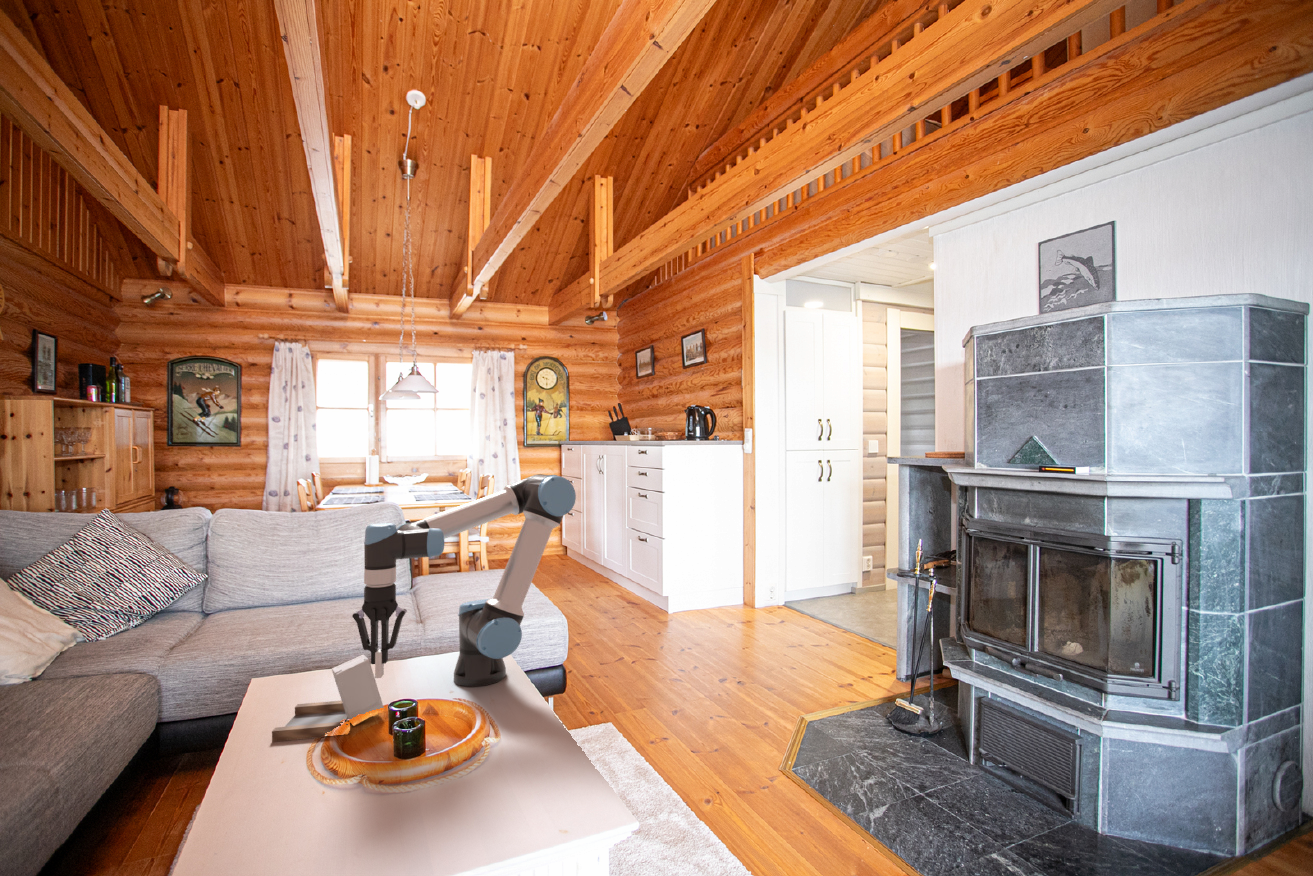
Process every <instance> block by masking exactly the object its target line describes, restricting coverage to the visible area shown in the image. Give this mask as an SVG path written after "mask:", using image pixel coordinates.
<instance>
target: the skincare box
mask: <svg viewBox="0 0 1313 876" xmlns="http://www.w3.org/2000/svg"><path fill="white" fill-rule="evenodd" d="M331 672H332V674H333V678H334V682H335V683H336V687H337V690H338V693H339V696H340V701H342V703H343V706H344V709H345V712H346V716H347V720H348V719H352V718H353V717H356V716H357V715H358V714H365V713H366V712H369V711H372V710H376V709H380V708H384V707H385V706H384V704H383V700H382V697H381V694H380V690H379V687H378V685H377V681H376V678H375V673H374V672H373V668H372V664H371V659H369V658H368V657H367V656H366V655H365V654H361V655H359V656H357V657H355V658H352V659H350V660H348V661H345V662H343V663H341V664H339V665H337V666H333V667H332V668H331ZM384 709H385V708H384Z"/></svg>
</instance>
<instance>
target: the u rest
mask: <svg viewBox="0 0 1313 876" xmlns="http://www.w3.org/2000/svg"><path fill="white" fill-rule="evenodd" d="M343 719H347V716H346V712H345V709H344V706H343V703H342V700H334V701H333V700H332V701H321V702H319V701H318V702H311V703H310V702H308V703H298V704H296V705H295V707H294V716H293V717H292V718H291V719H290V720H289V721H288V722H287V723H286V724H285V726H279V727H274V729H272V730H271V742H272V743H274V742H283V741H285V742H286V741H287V742H288V741H294V740H296V741H297V740H305V739H307V740H308V739H316V738H317V739H319V738H324V737H323V736H324V735H325V733H327V732H330V731H332V730H333V729H334V728H336V727H338V726H341V724H340V723H343V722H340V721H341V720H343ZM347 720H348V719H347ZM346 725H348V724H346Z"/></svg>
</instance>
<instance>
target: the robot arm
mask: <svg viewBox="0 0 1313 876" xmlns="http://www.w3.org/2000/svg"><path fill="white" fill-rule="evenodd" d="M576 494H577V493H576V490H575V487H574V485H573V484H572V482H571V481H570V480H569V479H567V478H565V477H563V476H561V475H557V474H541V473H540V474H533V475H531V476H528V477H526V478H523V479H520V480H519V481H516V482H514V483H511V484H508V485H506V486H504V488H503V490H501V491H499V492H496V493H492V494H490V495H487V496H484V497H482V498H479V499H476V500H473V501H470V502H467V503H465V504H462V505H459V506H456V507H453V508H450V509H448V510H445V511H443V512H442V511H441V512H439V513H437V514H436V513H435V514H434V515H431V516H428V517H425V518H424V519H421V520H417V521H414V522H412V523H411V522H405V523H402V524H400V525H399V526H397V525H396V523H390V522H389V523H373V524H372V523H371V524H369V525H367V527H366V528H365V530H364V531H365V532H364V542H363V544H364V550H363V551H364V559H363V560H364V573H363V574H364V575H363V577H364V578H363V583H364V587H363V604H362V606H361V609H359V610H357V611H355V612H354V613H353V614H352V617H351V618H353V620H354V621H355V622H356V626H357V629H358V634H359V637H360V638H359V639H360V641H361V645H362V649H363V651H369V652H370V664H371V665H374V677H375V679H381V678H382V677H383V676H384V675H385V674H384V673H385V670H384V669H385V668H384V666H385V664H386V663H387V662H388V660H389V651H390V650H391V649H393V648H394V647H395V646H396V645H397V640H398V637H399V632H400V628H401V625H402V622H403V618H404V617H405V615H406V613H407V612H408V611H407V609H406V608H401V607H399V604H398V602H397V599H396V598H397V592H396V591H397V585H396V584H395V583H396V582H397V560H406V559H407V560H408V559H419V558H432V557H438V556H441V555H442V554H443V552H444V549H445V539H447V538H450V537H453V536H455V535H458V534H460V533H461V534H462V533H464V532H466V531H468V530H471V529H474V528H476V527H479V526H481V525H484V524H487V523H489V522H493V521H495V520H498V519H500V518H503V517H505V516H508V515H511V514H513V515H514V516H517V515H520V514H523V515H524V518H525V519H524V521H523V524H522V527H521V529H520V531H519V534H518V536H517V538H516V541H515V543H514V546H513V549H512V551H511V553H510V556H509V558H508V561H507V563H506V565H505V568H504V571H503V573H502V575H501V578H500V580H499V582H498V585H497V587H496V590H495V593H494V595H493V597H491V598H490V599H489V598H485V599H484V598H483V599H478V600H477V599H476V600H470V601H467V602H463V603H461V604H460V605H459V608H458V613H457V615H458V630H459V631H458V637H459V638H458V640H459V642H458V643H459V644H458V645H459V647H458V648H459V655H458V657H457V661H456V664H455V668H454V671H453V683H455V684H456V685H459V686H461V687H483V686H487V685H493V684H495V683H498V682H499V681H501V680H503V679H504V678H505V677H506V674H507V671H506V670H507V669H506V668H507V667H506V664H505V662H504V659H503V658H507V657H508V656H511V654H512V655H513V653H514V652H515V651H516V650H517V649H518V648H519V645H520V644H521V641H522V637H523V632H522V628H521V625H522V621H523V618H524V616H525V612H524V610H523V604H524V602H525V600H526V596H527V594H528V593H529V589H530V587H531V585H532V582H533V579H534V577H535V574H536V571H537V569H538V566H539V564H540V563H541V559H542V557H543V554H544V552H545V549H546V547H547V544H548V541H549V539H550V538H551V537H550V536H551V535H552V532H553V530H554V529H555V528H557V527H559V526H561V523H562V520H563V518H564V516H565V515H567V514H569V513H570V512H571V511H572V510H573V508H574V506H575V504H576V501H577V500H576V499H577V497H576V496H577V495H576ZM393 614H395V617H396V619H395V620H394V623H393V624H394V625H393V629H392V631H391V632H392V634H391V636H389V635H390V634H389V630H390V629H389V627H390V626H389V625H390V624H389V623H390V618H391V617H392V615H393ZM365 616H366V617H367V618H368V620H369V621H370V623H369V624H370V636H369V633H368V629H367V625H366V621H365ZM379 622H380V627H381V631H380V632H381V633H380V635H381V641H380V644H381V648H379ZM389 637H390V639H389ZM378 648H379V649H378Z"/></svg>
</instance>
